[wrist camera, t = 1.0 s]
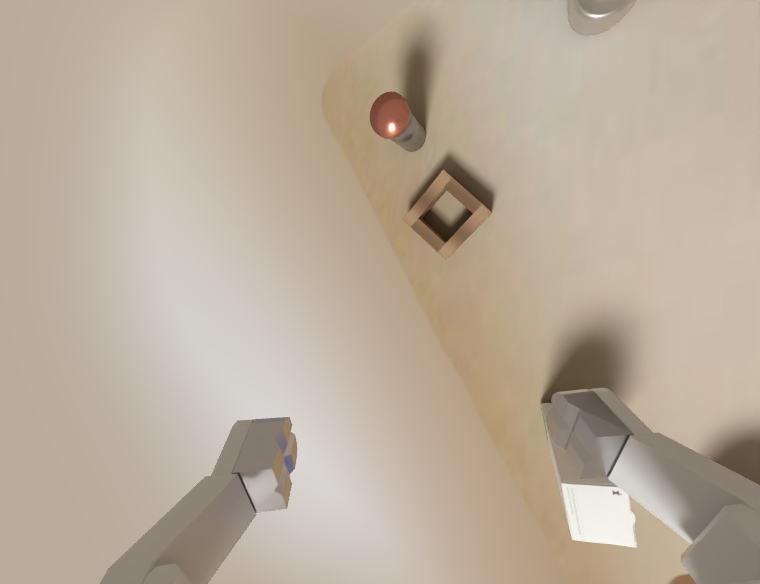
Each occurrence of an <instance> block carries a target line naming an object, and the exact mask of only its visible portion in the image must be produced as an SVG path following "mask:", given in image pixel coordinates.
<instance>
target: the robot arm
mask: <svg viewBox="0 0 760 584" xmlns="http://www.w3.org/2000/svg"><path fill="white" fill-rule="evenodd" d="M551 402H552V403H553V405H554V406H553V407H552V408H551V409H550V410H548V412H547V416H546V423H547V428H548V431H549V433H550V435H551V437H552V439H553V440H554V442H555V443H556V444H557V445H559V446H560V447H562V448H563V449H565V452H564V457H565V459H566V461H567V462H568V464H569V465H570V467H571V468H572V470H573V471H574V473H575V474H576V476H577V477H578V479H589V478H603V477H609V478H608V479H609V480H610V481H611V482H613V483H614V484H615V485H617V486H618V487H619V488H620V489H622V490H623V491H624V492H625V493H627V494H628V495H629V496H630V497H632V498H633V499H634V500H636V501H637V502H638V503H639V504H641V505H642V506H643V507H644V508H646V509H647V510H648V511H650V512H651V513H652V514H653V515H655V516H656V517H657V518H658V519H660V520H661V521H662V522H663V523H665V524H666V525H667V526H669V527H670V528H671V529H672V530H674V531H675V532H676V533H677V534H679V535H680V536H681V537H683V538H684V539H685V540H686V541H688V542H689V543H690V544H691V545H690V546H689V547H688V548H687V550H686V551H685V552H684V553H683V554H682V555H681V563H682V564H683V566H684V567H685V568H686V570H687V571H688V572H689V574H690V575H691V576H692V578H693V579H694V580H695V582H696V583H697V584H760V485H759V484H757V483H755V482H753V481H751V480H749V479H747V478H745V477H743V476H742V475H740V474H738V473H736V472H734V471H732V470H730V469H728V468H726V467H724V466H722V465H720V464H718V463H716V462H714V461H713V460H711V459H709V458H707V457H705V456H703V455H701V454H699V453H697V452H695V451H693V450H691V449H689V448H687V447H685V446H684V445H682V444H680V443H678V442H676V441H674V440H672V439H670V438H668V437H666V436H664V435H662V434H660V433H653V432H652V431H651V430H650V429H649V428H648V427H647V426H646V425H645V424H644V423H643V422H642V421H641V420H640V419H639V418H638V417H637V416H636V415H635V414H634V413H633V412H632V411H631V410H630V409H629V408H628V407H627V406H626V405H625V404H624V403H623V402H622V401H621V400H620V399H619V398H618V397H617V396H616V395H615V394H614V393H613V392H612V391H611V390H609V389H607V388H594V389H581V390H572V391H562V392H556V393H554V394H553V395H552V399H551ZM291 427H292V424H291V420H290V417H283V418H269V419H255V420H241V421H237V422H236V423H235V424H234V426H233V427H232V429H231V431H230V434H229V436H228V438H227V441H226V443H225V445H224V447H223V450H222V452H221V454H220V457H219V459H218V461H217V464H216V466H215V468H214V471H213V473H212V475H211V476H207V477H205V478H204V479H203V480H201V481H200V482H199V483H198V484H197V485H196V486H195V487H194V488H193V489H192V490H191V491H190V492H189V493H188V494H187V495H186V496H185V497H184V498H182V500H181V501H179V502H178V503H177V504H176V505H175V506H174V507H173V508H172V509H171V510H170V511H169V512H168V513H167V514H166V515H165V516H163V518H161V519H160V520H159V521H158V522H157V523H156V524H155V525H154V526H153V527H152V528H151V529H150V530H149V531H148V532H147V533H146V534H145V535H143V536H142V537H141V538H140V539H139V540H138V541H137V542H136V543H135V544H134V545H133V546H132V547H131V548H130V549H129V550H128V551H127V552H126V553H125V554H124V555H123V556H121V557H120V558H119V559H118V560H117V561H116V562H115V563H114V564H113V565H112V566H111V567H110V568H109V569H108V571H107V572H106V574H105V576H104V578H103V579H102V581H101V583H100V584H208V582H209V581H210V580H211V578H212V577H213V575H214V574H215V573H216V571H217V570H218V568H219V567H220V565H221V564H222V563H223V561H224V560H225V558H226V557H227V556H228V554H229V553H230V551H231V550H232V548H233V547H234V546H235V544H236V543H237V541H238V540H239V539H240V537H241V536H242V534H243V533H244V531H245V530H246V529H247V527H248V526H249V524H250V523H251V522H252V520H253V519H254V517H255V516H256V513H258V512H266V511H274V510H281V509H287V506H288V500H289V496H290V491H291V485H292V483H291V480H290V476H289V475H290V473H291V472H292V471H293V470H294V469H295V464H296V457H297V442H296V437H295V435H294V434H293V433H292V432H291Z"/></svg>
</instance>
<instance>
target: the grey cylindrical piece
mask: <svg viewBox="0 0 760 584" xmlns="http://www.w3.org/2000/svg"><path fill="white" fill-rule="evenodd" d="M370 123H371V126H372V128H373V130H374V131H375V132H376V133H377V134H378V135H379V136H381V137H383V138H385V139H391V140H392V141H394V142H395V143H397V144H398V145H399V146H401V147H402V148H403V149H405V150H406V151H409V152H414V151H417V150H418V149H420V148H421V147H422V146H423V144H424V142H425V138H426V133H425V130H424V128H423V127H422V125H421V124H420V123H419V122H418V121H417V119H416V118H415V117H414V116H413V115H412V113H411V112H410V108H409V105H408V103H407V102H406V100H405V99H404V98H403V97H402V96H401V95H400V94H398V93H396V92H386V93H384V94H382V95H380V96H379V97H378V98H377V99H376V100H375V102H374V103H373V105H372V108H371V111H370Z"/></svg>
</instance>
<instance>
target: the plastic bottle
mask: <svg viewBox="0 0 760 584" xmlns="http://www.w3.org/2000/svg"><path fill="white" fill-rule="evenodd" d="M635 2H636V0H569V3H568V20H569V23H570V26H571V27H572V28H573V30H575V31H576V32H577V33H580V34H582V35H595V34H599V33H602V32H604V31H606V30H608V29H610V28H611V27H613V26H614V25H615V24H616V23H618V22H619V21H620V20H621V19H622V18H623V17H624V16H625V15H626V13H627V12H628V11H629V10H630V9H631V8H632V6H633V5H634V3H635Z"/></svg>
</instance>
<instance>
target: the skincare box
mask: <svg viewBox="0 0 760 584" xmlns="http://www.w3.org/2000/svg"><path fill="white" fill-rule="evenodd" d="M553 406H554V405H553V403H541V409H542V414H543V419H544V424H545V429H546V434H547V439H548V444H549V448H550V452H551V456H552V460H553V465H554V469H555V473H556V477H557V481H558V485H559V489H560V494H561V498H562V502H563V505H564V509H565V513H566V517H567V521H568V525H569V529H570V532H571V536H572V539H573V540H578V541H585V542H596V543H606V544H614V545H622V546H630V547H637V543H636V534H635V526H634V523H635V515H634V514H633V512H632V507H631V501H630V496H629V495H628V494H627V493H625V492H624V491H623V490H622V489H620V488H619V487H618V486H617V485H615V484H614V483H613V482H611V481H610V480H609V479H608V478H609V477H603V478H589V479H578V477H577V476H576V474H575V473H574V471H573V470H572V468H571V467H570V465H569V464H568V462H567V461H566V459H565V457H564V452H565V449H563V448H562V447H560V446H559V445H557V444H556V443H555V442H554V440H553V439H552V437H551V435H550V433H549V431H548V428H547V423H546V416H547V412H548V410H550V409H551V408H552V407H553Z"/></svg>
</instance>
